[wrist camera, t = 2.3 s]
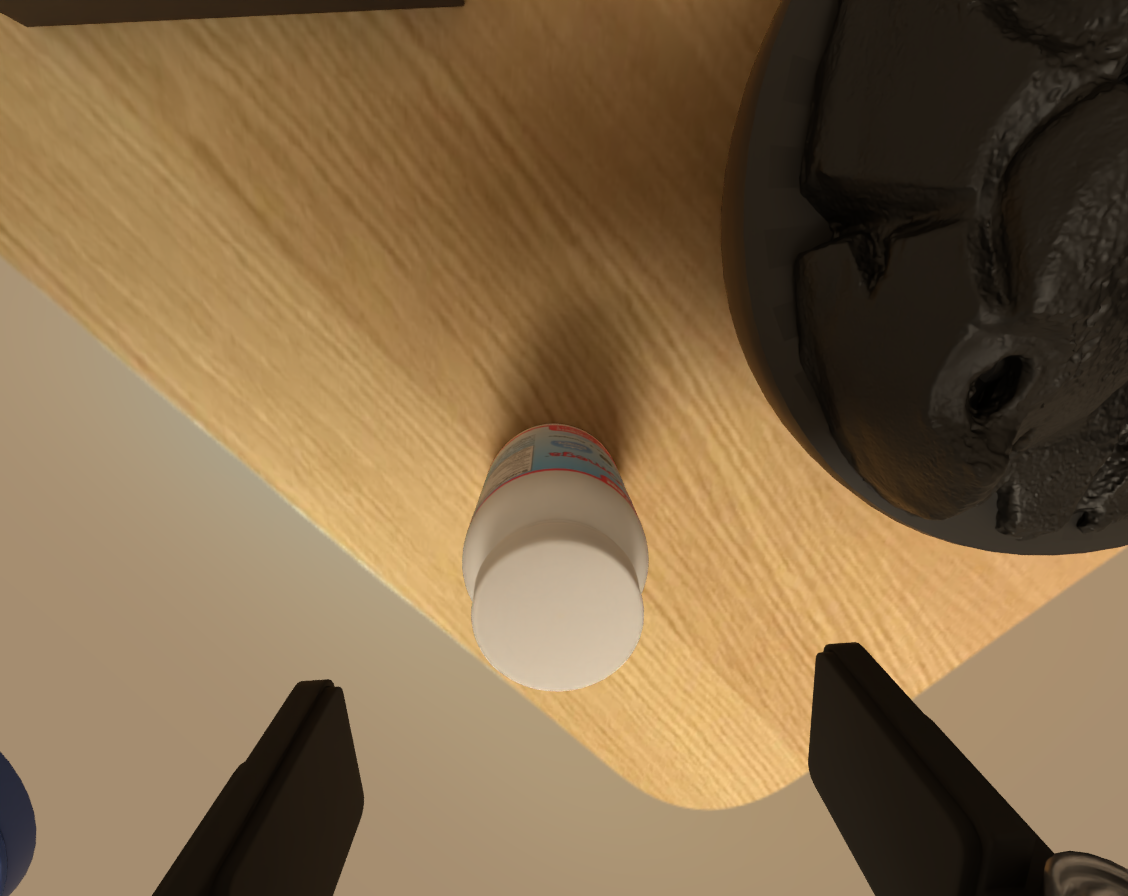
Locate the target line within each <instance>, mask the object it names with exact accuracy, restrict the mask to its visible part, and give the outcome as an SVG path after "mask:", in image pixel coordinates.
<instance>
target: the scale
mask: <svg viewBox="0 0 1128 896" xmlns="http://www.w3.org/2000/svg"><path fill="white" fill-rule="evenodd" d="M448 6H464V0H0V13H2V14H4V15H6V16H8V17H10V18H12V19H13V20H15V21H17V22H19V23H21V24H23V25H24V26H26V27H35V26H55V25H76V24H97V23H117V22H138V21H159V20H179V19H200V18H221V17H241V16H262V15H282V14H303V13H324V12H344V11H365V10H386V9H406V8H427V7H448Z"/></svg>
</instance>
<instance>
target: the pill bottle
mask: <svg viewBox="0 0 1128 896" xmlns="http://www.w3.org/2000/svg"><path fill="white" fill-rule="evenodd" d="M462 569H463V576H464V581H465V585H466V588H467V591H468V594H469V596H470V598H471V600H472V610H471V620H472V627H473V632H474V636H475V639H476V641H477V644H478V646H479V648H480V649H481V651H482V653H483V655H484V656H485V657H486V658H487V660H488V661H489V662H490V664H491V665H492V666H493V667H494V668H496V669H497V670H498V671H499V672H501V673H502V674H503V675H505V676H506V677H508V678H509V679H511V680H513V681H515V682H517V683H519V684H521V685H524V686H527V687H530V688H534V689H538V690H544V691H570V690H576V689H580V688H584V687H587V686H590V685H593V684H595V683H597V682H599V681H601V680H603V679H605V678H607V677H608V676H610V675H611V674H613V673H614V672H615V671H616V670H618V669H619V668H620V667H621V666H622V665H623V664H624V663H625V662H626V661H627V659H628V658H629V657H630V655H631V654H632V652H633V651H634V649H635V647H636V646H637V643H638V641H639V639H640V636H641V632H642V628H643V621H644V606H643V599H642V595H641V593H642V591H643V589H644V586H645V582H646V579H647V573H648V547H647V541H646V537H645V534H644V531H643V528H642V525H641V523H640V520H639V518H638V516H637V513H636V511H635V509H634V507H633V504H632V501H631V499H630V497H629V495H628V493H627V491H626V488H625V486H624V483H623V481H622V479H621V476H620V474H619V472H618V470H617V467H616V465H615V463H614V461H613V459H612V457H611V455H610V454H609V452H608V451H607V450H606V448H605V447H604V446H603V445H602V444H601V443H600V442H599V441H598V440H597V439H596V438H594V437H593V436H592V435H590V434H589V433H587V432H585V431H583V430H581V429H579V428H576V427H573V426H569V425H564V424H543V425H538V426H535V427H532V428H529V429H527V430H525V431H523V432H521V433H519V434H518V435H516V436H515V437H513V438H512V439H511V440H510V441H509V442H508V443H507V444H506V445H505V446H504V447H503V448H502V449H501V450H500V452H499V453H498V454H497V456H496V457H495V459H494V461H493V463H492V465H491V467H490V469H489V471H488V474H487V477H486V480H485V483H484V486H483V489H482V491H481V494H480V497H479V500H478V503H477V506H476V509H475V512H474V514H473V516H472V519H471V523H470V525H469V528H468V531H467V534H466V538H465V542H464V547H463V556H462Z"/></svg>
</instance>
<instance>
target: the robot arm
mask: <svg viewBox="0 0 1128 896" xmlns="http://www.w3.org/2000/svg"><path fill="white" fill-rule="evenodd" d="M808 766H809V772H810V775H811V778H812V781H813V783H814V785H815V787H816V789H817V791H818V793H819V794H820V796H821V798H822V800H823V802H824V803H825V805H826V807H827V809H828V811H829V812H830V814H831V816H832V818H833V820H834V822H835V823H836V825H837V827H838V829H839V831H840V832H841V834H842V836H843V838H844V840H845V842H846V843H847V845H848V847H849V849H850V851H851V852H852V854H853V856H854V858H855V860H856V862H857V863H858V865H859V867H860V869H861V871H862V872H863V874H864V876H865V878H866V880H867V882H868V883H869V885H870V887H871V889H872V891H873V892H874V894H875V896H1128V869H1126V868H1124V867H1122V866H1120V865H1118V864H1116V863H1114V862H1112V861H1110V860H1107V859H1104V858H1101V857H1098V856H1095V855H1092V854H1089V853H1083V852H1075V851H1066V852H1060V853H1055V854H1054V853H1053V852H1052V851H1051V849H1050V848H1049V847H1048V846H1047V845H1046V844H1045V843H1044V842H1043V841H1042V840H1041V839H1040V837H1039V836H1038V835H1037V834H1036V833H1035V832H1034V831H1033V830H1032V829H1031V828H1030V827H1029V826H1028V824H1027V823H1026V822H1025V821H1024V820H1023V819H1022V818H1021V817H1020V816H1019V814H1018V813H1017V812H1016V811H1015V810H1014V809H1013V808H1012V807H1011V806H1010V805H1009V804H1008V803H1007V801H1006V800H1005V799H1004V798H1003V797H1002V796H1001V795H1000V794H999V793H998V792H997V790H996V789H995V788H994V787H993V786H992V785H991V784H990V783H989V782H988V781H987V780H986V779H985V777H984V776H983V775H982V774H981V773H980V772H979V771H978V770H977V769H976V768H975V767H974V765H973V764H972V763H971V762H970V761H969V760H968V759H967V758H966V757H965V756H964V754H963V753H962V752H961V751H960V750H959V749H958V748H957V747H956V746H955V745H954V744H953V742H952V741H951V740H950V739H949V738H948V737H947V736H946V735H945V734H944V733H943V732H942V730H940V728H939V727H938V726H937V725H936V724H935V723H934V722H933V721H932V720H931V719H930V718H929V717H927V716H926V715H925V714H924V713H923V712H922V711H921V710H920V709H919V708H918V707H917V706H916V704H915V703H913V701H912V700H911V699H910V698H909V697H908V696H907V695H906V694H905V692H904V691H903V690H902V689H901V688H900V687H899V686H898V685H897V684H896V683H895V681H894V680H893V679H892V678H891V677H890V676H889V675H888V674H887V673H886V672H885V670H884V669H883V668H882V667H881V666H880V665H879V664H878V663H877V662H876V661H875V659H874V658H873V657H872V656H871V655H870V654H869V653H868V652H867V651H866V650H865V648H864V647H863V646H861V645H860V644H859V643H856V642H852V643H838V644H828V645H826V646H825V648H824V651H823V652H822V653H818V654H817V656H816V663H815V677H814V690H813V703H812V717H811V730H810V743H809V757H808ZM363 806H364V794H363V788H362V783H361V778H360V773H359V768H358V763H357V758H356V754H355V749H354V744H353V739H352V734H351V729H350V724H349V719H348V714H347V709H346V704H345V699H344V694H343V691H342V688H341V687H334V683H333V682H332V681H331V680H329V679H327V680H313V681H301V682H299V683H297V685H296V686H295V687H294V689H293V690H292V692H291V693H290V694H289V696H288V698H287V699H286V701H285V702H284V704H283V705H282V707H281V708H280V710H279V711H278V713H277V714H276V716H275V717H274V719H273V720H272V722H271V724H270V725H269V727H268V728H267V729H266V731H265V732H264V734H263V736H262V737H261V739H260V740H259V742H258V743H257V745H256V746H255V748H254V749H253V751H252V752H251V754H250V755H249V757H248V758H247V760H246V761H245V762H244V763H242V764H241V765H240V766H239V767H238V768H237V769H236V771H235V772H234V773H233V775H232V776H231V778H230V779H229V781H228V782H227V784H226V785H225V787H224V788H223V790H222V791H221V793H220V794H219V796H218V797H217V799H216V800H215V802H214V803H213V805H212V806H211V808H210V809H209V811H208V812H207V814H206V815H205V817H204V818H203V820H202V821H201V823H200V824H199V826H198V827H197V829H196V830H195V832H194V833H193V835H192V836H191V838H190V839H189V841H188V842H187V844H186V845H185V847H184V848H183V850H182V851H181V853H180V854H179V856H178V857H177V859H176V860H175V862H174V863H173V865H172V866H171V868H170V869H169V871H168V872H167V874H166V875H165V877H164V878H163V880H162V881H161V883H160V884H159V886H158V887H157V889H156V890H155V892H154V893H153V895H152V896H333V894H334V891H335V888H336V885H337V882H338V880H339V877H340V874H341V871H342V869H343V866H344V863H345V861H346V858H347V855H348V852H349V849H350V847H351V844H352V841H353V838H354V836H355V833H356V830H357V827H358V825H359V822H360V819H361V816H362V812H363Z"/></svg>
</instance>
